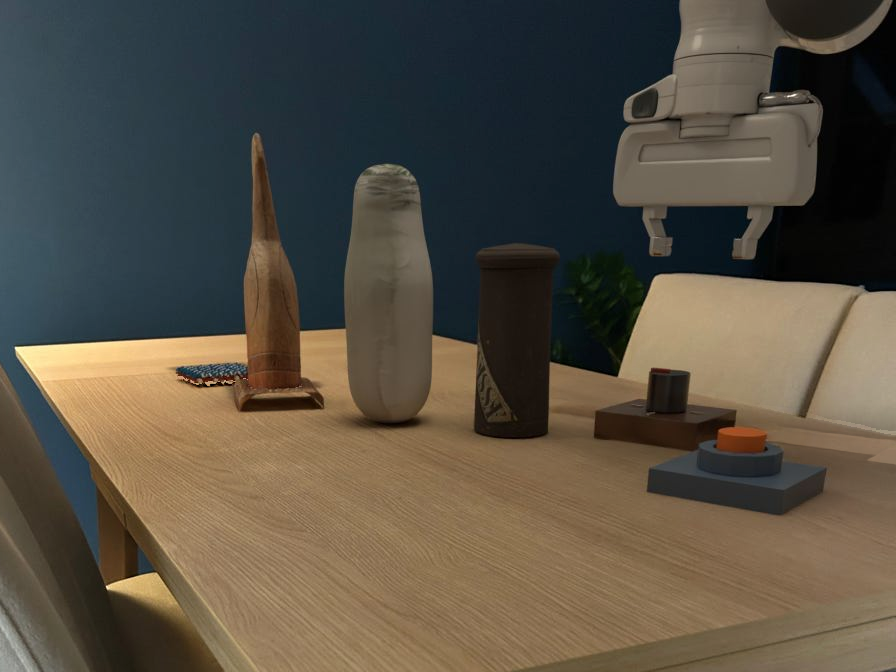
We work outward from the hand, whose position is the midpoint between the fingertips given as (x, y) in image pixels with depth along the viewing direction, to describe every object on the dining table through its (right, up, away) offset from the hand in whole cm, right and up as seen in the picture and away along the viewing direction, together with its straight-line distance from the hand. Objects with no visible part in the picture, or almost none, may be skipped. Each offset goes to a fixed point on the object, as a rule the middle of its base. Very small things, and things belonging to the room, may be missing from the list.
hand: (700, 257), depth 95 cm
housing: (0, -25, -10) cm, 26 cm away
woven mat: (-58, +2, +52) cm, 78 cm away
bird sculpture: (-46, -6, +34) cm, 58 cm away
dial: (0, -12, +11) cm, 17 cm away
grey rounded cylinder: (-31, -11, +22) cm, 40 cm away
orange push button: (0, -21, -11) cm, 24 cm away
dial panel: (0, -15, +12) cm, 20 cm away
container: (-17, -14, +16) cm, 27 cm away
